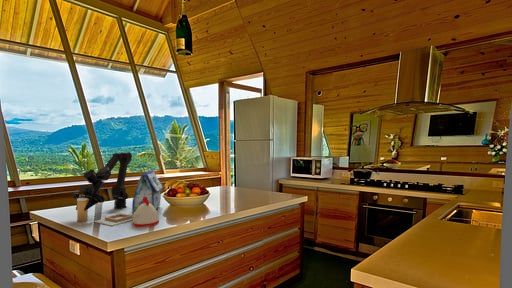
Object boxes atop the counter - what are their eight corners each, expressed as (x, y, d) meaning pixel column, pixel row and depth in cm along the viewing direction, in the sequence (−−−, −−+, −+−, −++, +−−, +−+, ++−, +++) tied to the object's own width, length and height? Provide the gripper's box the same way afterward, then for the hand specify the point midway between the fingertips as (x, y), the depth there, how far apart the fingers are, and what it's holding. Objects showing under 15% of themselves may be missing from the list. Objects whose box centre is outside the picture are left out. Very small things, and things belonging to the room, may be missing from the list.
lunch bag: (158, 214, 183) (158, 173, 182) (130, 214, 180) (130, 173, 180) (163, 206, 205) (163, 169, 204) (139, 206, 202) (139, 170, 202)
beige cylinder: (85, 218, 170) (85, 197, 170) (89, 220, 167) (89, 198, 167) (75, 220, 166) (75, 198, 166) (79, 222, 163) (79, 199, 163)
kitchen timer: (153, 218, 171) (153, 194, 171) (162, 223, 161) (162, 197, 161) (129, 223, 162) (129, 196, 162) (137, 228, 152) (137, 200, 152)
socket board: (124, 214, 181) (124, 211, 181) (142, 217, 174) (142, 214, 174) (94, 222, 163) (94, 218, 163) (112, 226, 156) (112, 222, 156)
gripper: (74, 179, 172) (58, 201, 161) (101, 180, 169) (86, 203, 158) (84, 190, 180) (69, 212, 169) (110, 191, 176) (97, 213, 166)
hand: (80, 210), depth 165 cm, fingers closed on beige cylinder, 5 cm apart
